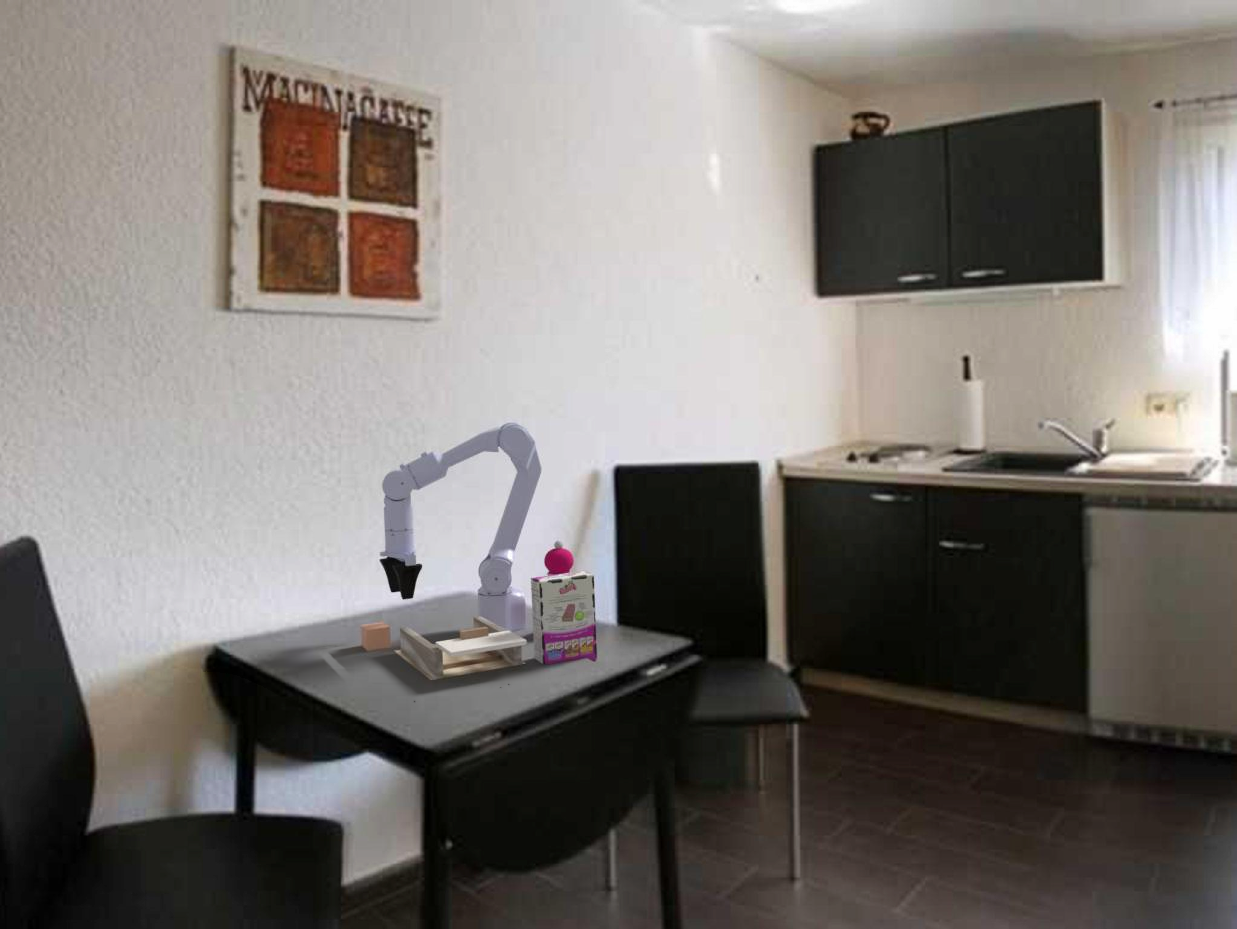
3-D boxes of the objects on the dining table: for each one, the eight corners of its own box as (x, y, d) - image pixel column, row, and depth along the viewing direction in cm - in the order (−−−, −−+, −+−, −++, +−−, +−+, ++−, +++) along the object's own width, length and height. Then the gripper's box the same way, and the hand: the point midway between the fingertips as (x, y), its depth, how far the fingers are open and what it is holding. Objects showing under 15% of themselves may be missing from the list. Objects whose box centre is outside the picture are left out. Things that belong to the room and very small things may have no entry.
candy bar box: (586, 654, 189) (584, 569, 187) (597, 660, 184) (595, 574, 183) (532, 663, 184) (529, 576, 182) (543, 669, 179) (540, 581, 178)
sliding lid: (508, 634, 181) (508, 623, 181) (526, 644, 174) (526, 632, 174) (435, 646, 174) (435, 634, 174) (451, 657, 167) (450, 644, 167)
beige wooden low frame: (481, 641, 199) (480, 613, 199) (526, 668, 180) (525, 637, 180) (394, 655, 190) (392, 626, 190) (431, 685, 171) (430, 652, 171)
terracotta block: (384, 644, 197) (383, 621, 196) (390, 649, 193) (389, 626, 192) (361, 647, 194) (360, 625, 194) (367, 652, 191) (367, 630, 190)
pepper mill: (543, 633, 205) (540, 538, 203) (577, 632, 205) (575, 537, 203) (543, 642, 197) (540, 544, 196) (579, 641, 198) (577, 543, 196)
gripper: (369, 526, 204) (372, 591, 205) (390, 535, 191) (393, 604, 192) (403, 523, 207) (405, 587, 208) (425, 532, 195) (427, 599, 196)
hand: (401, 595), depth 201 cm, fingers open, 7 cm apart
